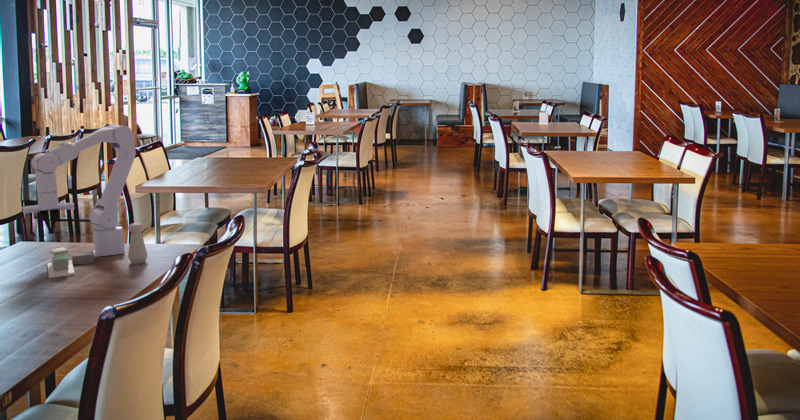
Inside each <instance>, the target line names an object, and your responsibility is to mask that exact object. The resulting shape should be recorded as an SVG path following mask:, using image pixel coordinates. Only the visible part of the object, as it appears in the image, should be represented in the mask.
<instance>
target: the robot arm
mask: <svg viewBox="0 0 800 420" xmlns="http://www.w3.org/2000/svg"><path fill="white" fill-rule="evenodd" d="M135 139H136V135H135V133H134V132H133V130H132V129H131V128H130V127H129V126H127V125H117V124H115V123H112V124H108V125H107V126H103V127H100V128H99V129H97V130H95V131H92V132H91V133H89V134H87V135H86V136H83V137H82V138H80V139H78V140H76V141H75V142H70V141H65V142H64V141H61V142H59V143H58V144H59V145H57V146H54V147H53V148H51V149H45V150H44V151H45V153H44V152H43V153H41V152H40V153H37V154H35V155H34V156H33V157H32V160H31V162H30V165H31V168H32V169H34V175H35V183H36V184H35V186H36V197H37V204H34V205H27V206H22V213H23V214H29V213H31V214H32V213H39V215H40V217H41V218H42V219H41V220H43V222H44V224H45V225H46V228H47V231H48V234H49V235H53V234H55V227H56V222H57V219H58V217H59V213H60V211H67V210H75V202H59V195H58V186H57V177H56V171H57V169H58V168H59V167H60V166H62V165H65V164H67V163H69V162H70V161H73V160H75V159H76V158H77V157H78V155H79V153H80V152H82V151H84V150H87V149H88V148H89V149H90V148H91V147H93V146H95V145H98V144H100V143H109V144H110V145H111V146H112V147H113V149H114V150H115V152H116V154H117V156H116V158H115V161H114V163H113V166H112V168H111V172H110V173H109V177H108V180H107V182H106V185H105V187H104V190H103V193H102V195H101V198H99V199H98V200H97V201H96V203H95V205H94V206H93V207H92V209H90V210H89V213H88V219H89V221H90V222H91V223H92V235H93V236H92V237H93V247H94V250H92V252H93V254H94V258H97V257H107V256H115V255H124V254H126V252H125V250H126V249H125V245H126V244H125V241H124V240H125V239H124V231H123V230H124V229H123V227H122V226H117V224H118V222H119V212H120V208H119V201H120V198H121V195H122V192H123V189H124V187H125V185H126V182H127V178H128V177H129V174H130V172H131V168H132V166H133V163H134V161H135V158H136V154H137V153H136V152H137V151H136V144H135V143H136V142H135V141H136V140H135Z"/></svg>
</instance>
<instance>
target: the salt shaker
mask: <svg viewBox="0 0 800 420" xmlns="http://www.w3.org/2000/svg"><path fill="white" fill-rule="evenodd" d="M143 228H144V227H143V224H142V223H139V222H133V223H132V222H131V223H130V224H129V225H128V228H127V229H128V232H130V235H129V236H130V238H129V246H128V255H127V256H128V259H129V261H130V264H131V265H142V264H145V263H146V260H147V259H148V251H147V248H146V245H145V241H144V237H143V233H142V231H143Z"/></svg>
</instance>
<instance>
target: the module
mask: <svg viewBox="0 0 800 420" xmlns="http://www.w3.org/2000/svg"><path fill="white" fill-rule="evenodd" d="M49 253H50V263H51V265H52V266H53V260H52V257H59V256H67V258H68V265H69V260H70V258H69V249H67V248H66V247H63V246H62V247H57V248H51V249H49Z"/></svg>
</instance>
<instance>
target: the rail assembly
mask: <svg viewBox="0 0 800 420" xmlns="http://www.w3.org/2000/svg"><path fill="white" fill-rule="evenodd" d="M52 260H53V266H52V265H51V262H47V270H48V278H49V279H53V278H60V277H68V276H75V269H74V265H73V262H72V259H69V265H68V258H67V256H59V257H52Z"/></svg>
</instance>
